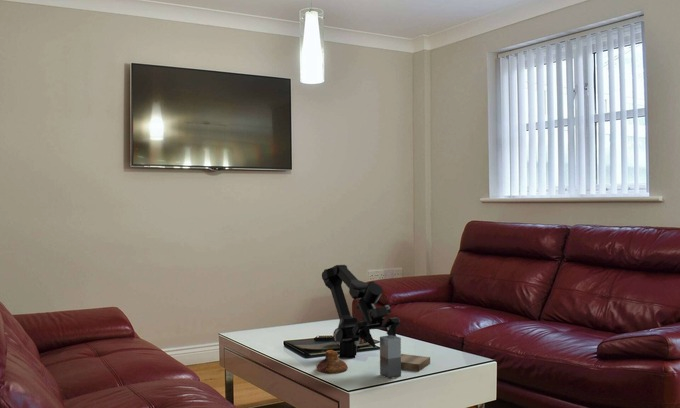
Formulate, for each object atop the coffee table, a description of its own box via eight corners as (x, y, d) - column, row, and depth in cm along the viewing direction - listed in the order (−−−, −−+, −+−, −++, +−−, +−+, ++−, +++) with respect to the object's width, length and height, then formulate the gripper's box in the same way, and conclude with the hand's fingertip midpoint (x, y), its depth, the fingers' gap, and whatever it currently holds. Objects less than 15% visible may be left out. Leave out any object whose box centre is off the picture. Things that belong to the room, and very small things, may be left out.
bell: (315, 366, 243) (315, 347, 243) (346, 365, 244) (346, 346, 244) (316, 374, 231) (316, 355, 231) (349, 373, 232) (348, 354, 232)
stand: (389, 367, 240) (389, 360, 240) (401, 360, 250) (401, 353, 250) (419, 371, 234) (419, 364, 234) (430, 363, 245) (430, 357, 245)
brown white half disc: (365, 347, 272) (364, 328, 272) (361, 349, 270) (361, 329, 270) (336, 343, 280) (335, 325, 280) (332, 345, 278) (332, 326, 278)
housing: (380, 374, 230) (379, 336, 230) (392, 372, 232) (392, 335, 232) (388, 378, 225) (388, 339, 225) (401, 376, 228) (400, 337, 228)
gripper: (355, 300, 232) (371, 335, 222) (397, 296, 241) (414, 329, 231) (345, 318, 239) (360, 353, 229) (386, 313, 248) (402, 347, 238)
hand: (385, 345), depth 232 cm, fingers open, 9 cm apart
